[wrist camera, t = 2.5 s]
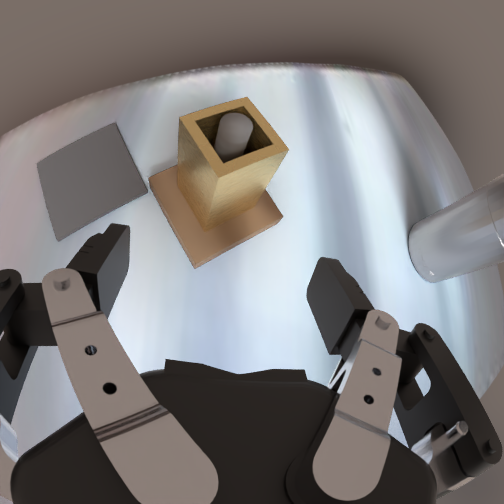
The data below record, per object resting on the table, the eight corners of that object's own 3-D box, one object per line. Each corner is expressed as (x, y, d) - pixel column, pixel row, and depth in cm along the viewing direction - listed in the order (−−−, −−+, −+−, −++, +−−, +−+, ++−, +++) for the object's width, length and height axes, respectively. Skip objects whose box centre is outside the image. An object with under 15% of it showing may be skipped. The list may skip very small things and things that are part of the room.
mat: (115, 125, 29) (114, 122, 29) (147, 192, 28) (147, 190, 27) (38, 165, 25) (36, 163, 25) (58, 241, 24) (56, 240, 24)
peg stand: (229, 152, 32) (257, 68, 20) (277, 223, 30) (334, 159, 18) (150, 187, 28) (138, 101, 16) (194, 268, 27) (205, 218, 15)
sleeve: (225, 164, 29) (247, 96, 19) (254, 207, 28) (289, 149, 19) (177, 185, 27) (179, 117, 17) (204, 232, 26) (218, 178, 17)
